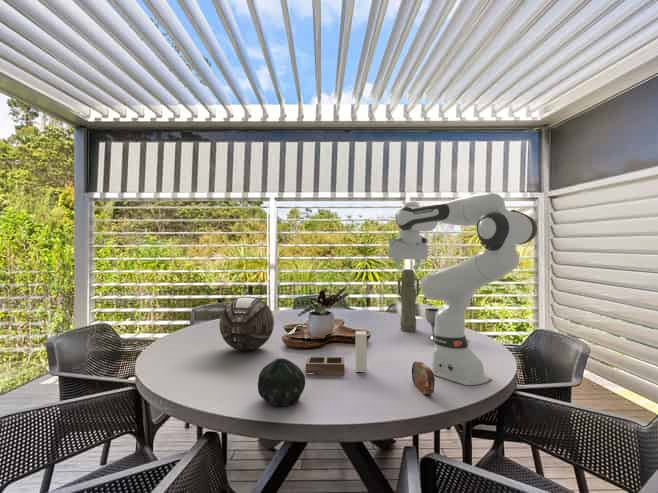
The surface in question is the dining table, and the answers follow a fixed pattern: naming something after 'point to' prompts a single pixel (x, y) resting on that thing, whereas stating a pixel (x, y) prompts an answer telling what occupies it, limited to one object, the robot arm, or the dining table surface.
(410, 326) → the stone pillar
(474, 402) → the dining table surface
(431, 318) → the wine glass
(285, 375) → the squash
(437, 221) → the robot arm
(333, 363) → the walnut rack
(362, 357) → the cream rectangular block
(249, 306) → the sphere
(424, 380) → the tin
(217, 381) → the dining table surface
